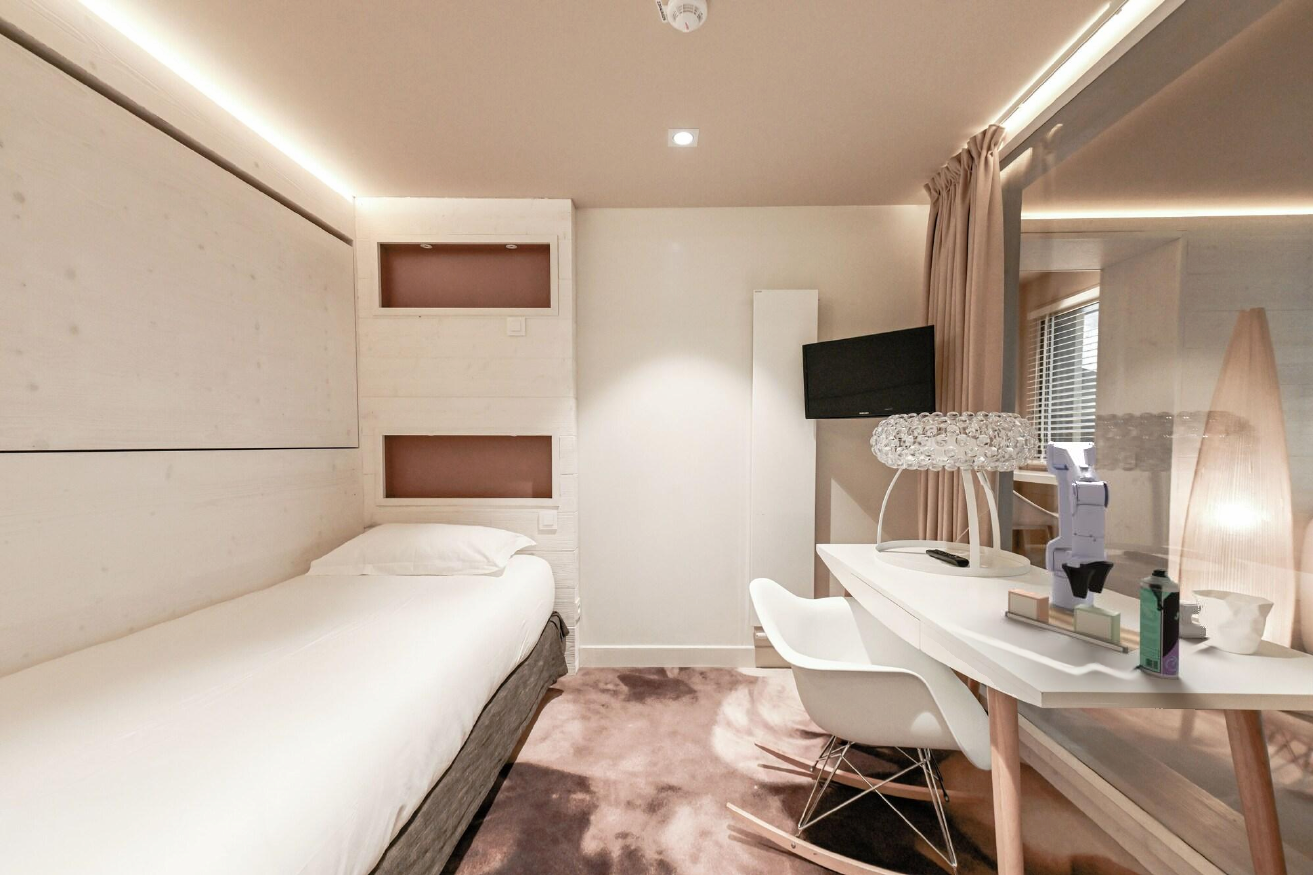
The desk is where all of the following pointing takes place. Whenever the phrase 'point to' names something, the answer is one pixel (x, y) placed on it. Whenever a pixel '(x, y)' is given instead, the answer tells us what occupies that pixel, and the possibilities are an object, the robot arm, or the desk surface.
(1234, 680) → the desk surface
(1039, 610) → the clay carton
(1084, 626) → the sage carton
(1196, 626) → the stamp
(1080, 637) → the rail
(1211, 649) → the desk surface
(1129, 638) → the shelf board
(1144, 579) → the spray can
